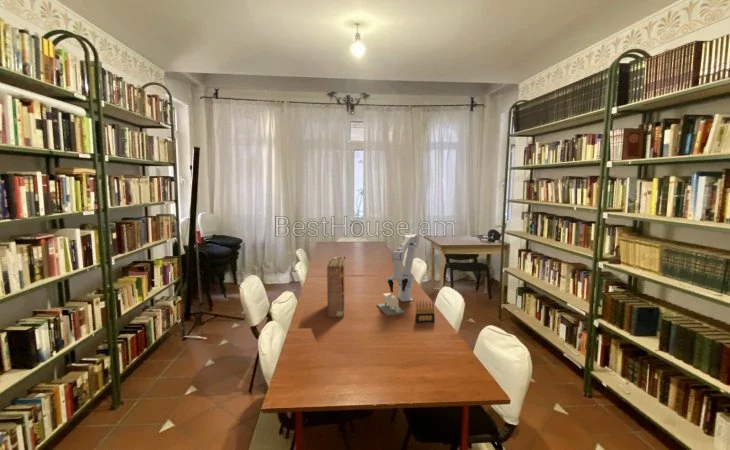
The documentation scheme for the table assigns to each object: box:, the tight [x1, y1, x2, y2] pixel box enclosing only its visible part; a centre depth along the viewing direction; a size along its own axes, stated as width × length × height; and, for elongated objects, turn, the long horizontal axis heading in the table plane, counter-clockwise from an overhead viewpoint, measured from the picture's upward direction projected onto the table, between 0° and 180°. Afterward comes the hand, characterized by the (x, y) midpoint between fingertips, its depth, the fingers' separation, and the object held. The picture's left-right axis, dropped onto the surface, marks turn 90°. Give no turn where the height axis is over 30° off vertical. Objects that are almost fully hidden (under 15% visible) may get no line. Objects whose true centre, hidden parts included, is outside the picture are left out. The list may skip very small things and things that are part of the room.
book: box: [326, 257, 346, 319], centre depth 227 cm, size 25×9×30 cm, turn 2°
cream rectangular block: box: [382, 292, 400, 307], centre depth 229 cm, size 14×5×4 cm, turn 16°
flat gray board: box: [376, 302, 405, 316], centre depth 230 cm, size 18×11×4 cm, turn 16°
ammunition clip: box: [414, 300, 436, 324], centre depth 210 cm, size 11×2×12 cm, turn 94°
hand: (397, 291), depth 236 cm, fingers open, 7 cm apart
